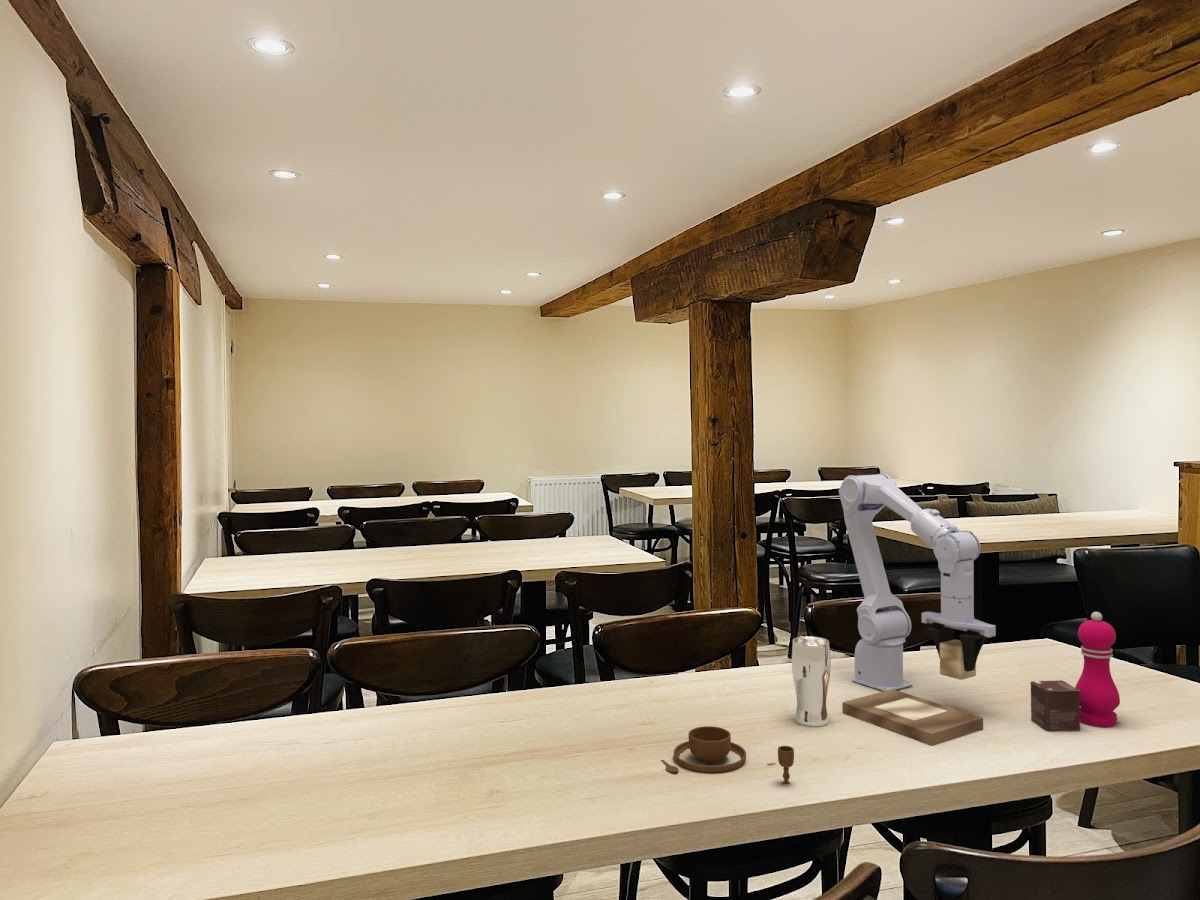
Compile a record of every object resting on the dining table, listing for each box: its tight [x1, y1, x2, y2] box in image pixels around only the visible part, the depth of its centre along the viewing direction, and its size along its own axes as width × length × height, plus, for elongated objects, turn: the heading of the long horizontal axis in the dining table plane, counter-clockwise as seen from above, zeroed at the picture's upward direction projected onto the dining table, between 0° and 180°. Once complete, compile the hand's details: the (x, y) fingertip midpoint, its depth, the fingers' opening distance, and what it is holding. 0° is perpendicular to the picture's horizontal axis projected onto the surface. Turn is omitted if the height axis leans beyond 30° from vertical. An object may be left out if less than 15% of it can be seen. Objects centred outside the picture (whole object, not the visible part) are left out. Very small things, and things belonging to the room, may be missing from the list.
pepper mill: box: [1074, 611, 1121, 728], centre depth 156 cm, size 7×7×20 cm
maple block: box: [939, 638, 977, 681], centre depth 163 cm, size 4×4×6 cm
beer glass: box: [791, 635, 832, 728], centre depth 159 cm, size 7×7×15 cm
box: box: [1030, 680, 1081, 732], centre depth 155 cm, size 6×6×7 cm
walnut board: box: [841, 689, 984, 746], centre depth 158 cm, size 20×14×2 cm
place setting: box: [660, 725, 795, 786], centre depth 139 cm, size 18×20×6 cm
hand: (957, 667), depth 163 cm, fingers closed on maple block, 4 cm apart
